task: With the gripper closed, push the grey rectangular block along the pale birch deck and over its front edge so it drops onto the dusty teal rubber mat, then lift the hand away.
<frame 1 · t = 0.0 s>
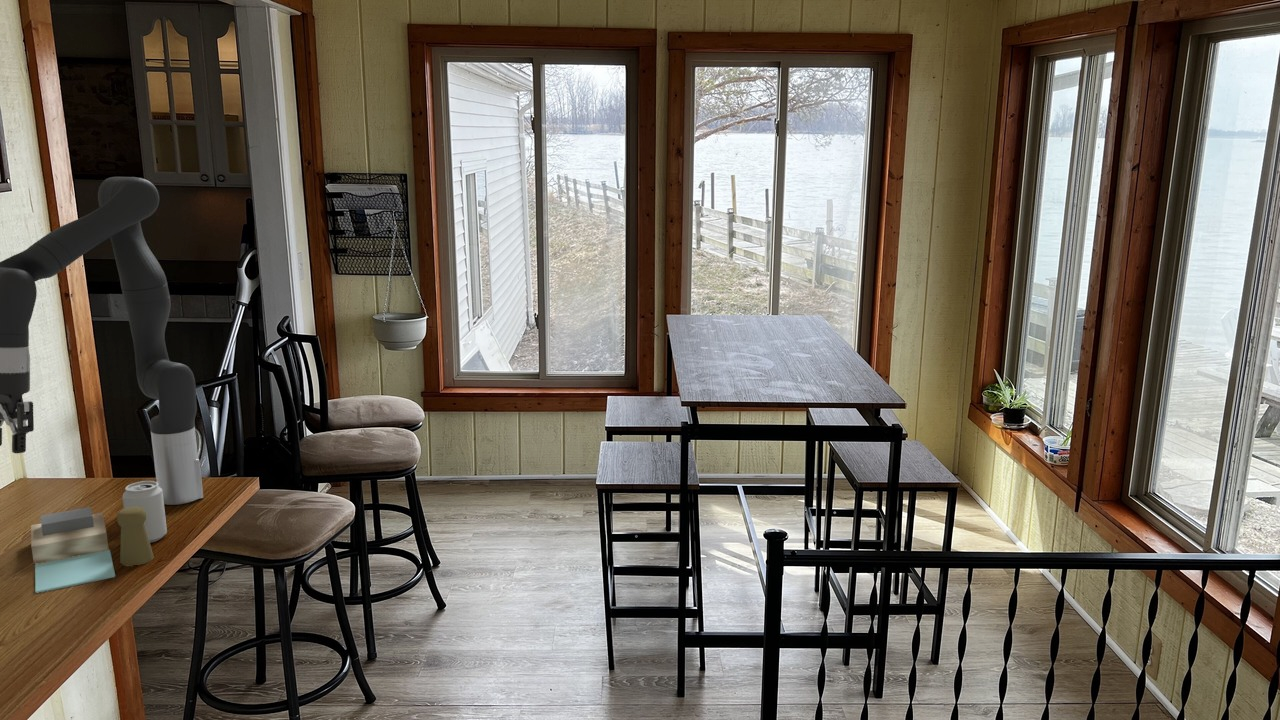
hand: (6, 449, 185), 22 cm above the bar counter, tool pointing down, fingers open, 8 cm apart
grey rectangular block: (67, 521, 194), point 5 cm above the bar counter, touching deck
cork: (137, 560, 188), on the bar counter
can: (148, 539, 198), on the bar counter
deck: (70, 546, 194), on the bar counter
mat: (74, 571, 182), on the bar counter
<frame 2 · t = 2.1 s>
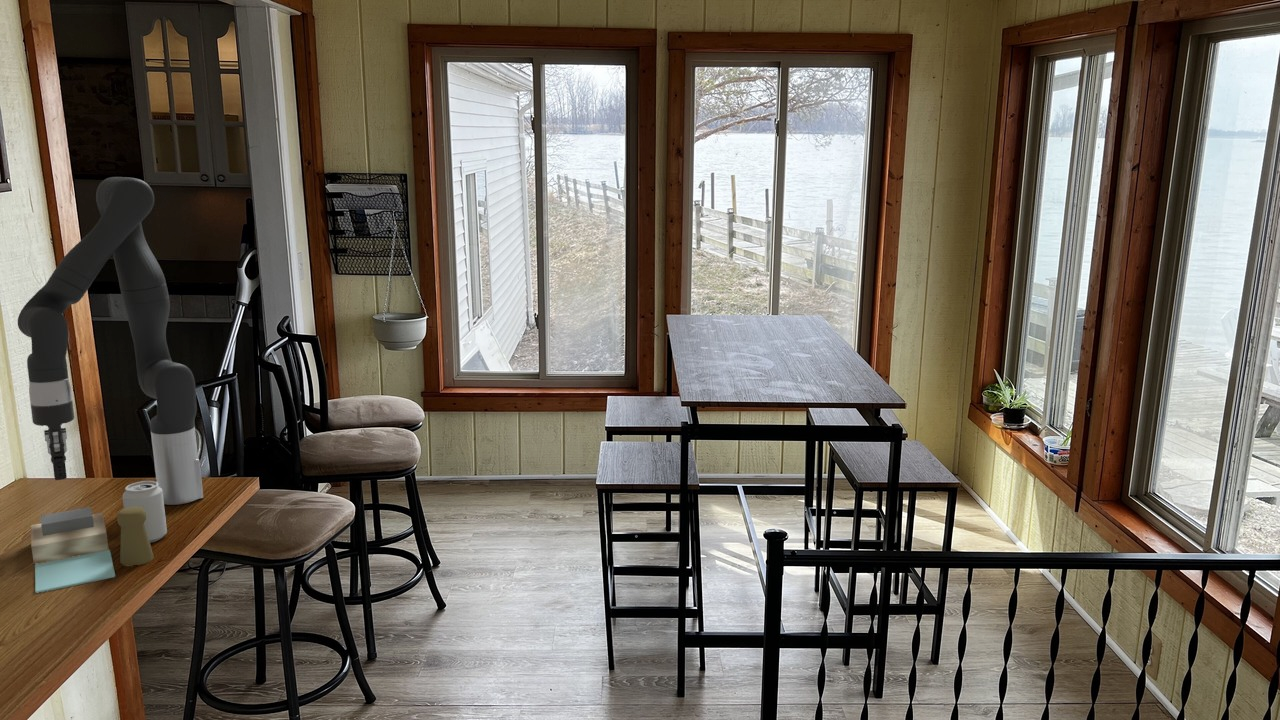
hand: (60, 478, 199), 12 cm above the bar counter, tool pointing down, fingers closed
nothing on the bar counter moved.
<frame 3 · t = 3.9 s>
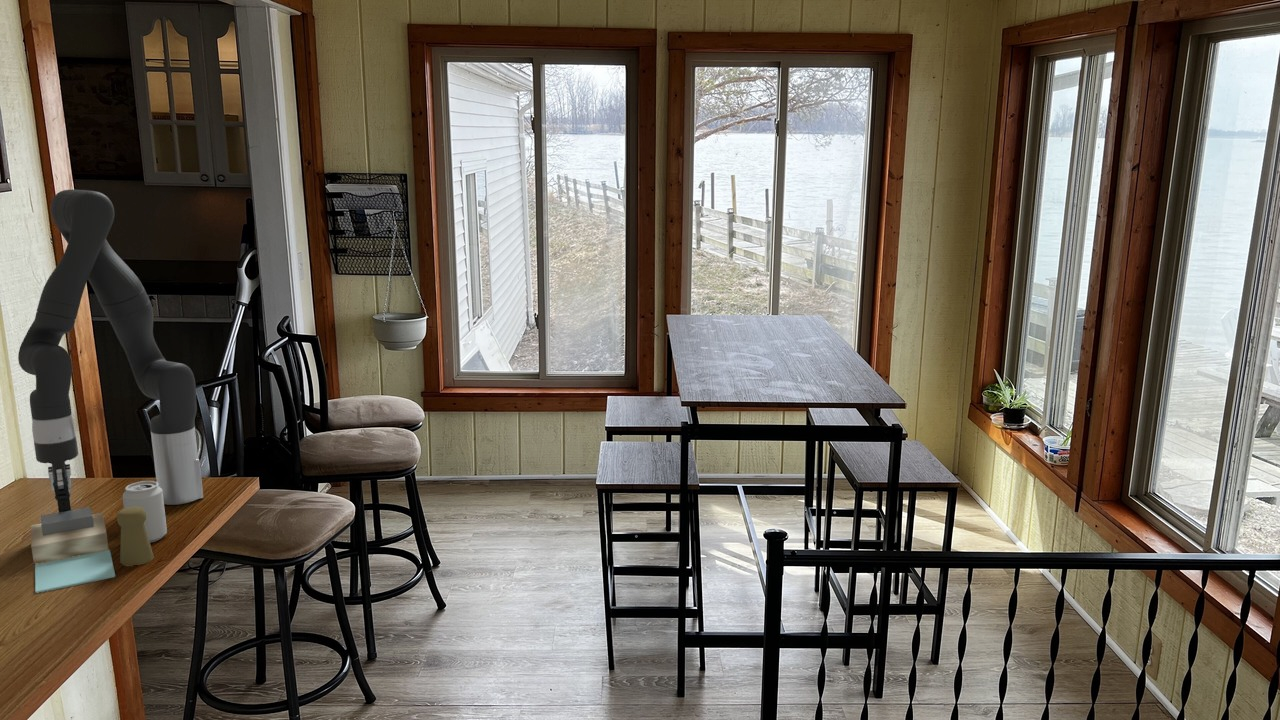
hand: (65, 514, 197), 5 cm above the bar counter, tool pointing down, fingers closed
grey rectangular block: (67, 521, 194), point 5 cm above the bar counter, touching gripper
everything else where it was.
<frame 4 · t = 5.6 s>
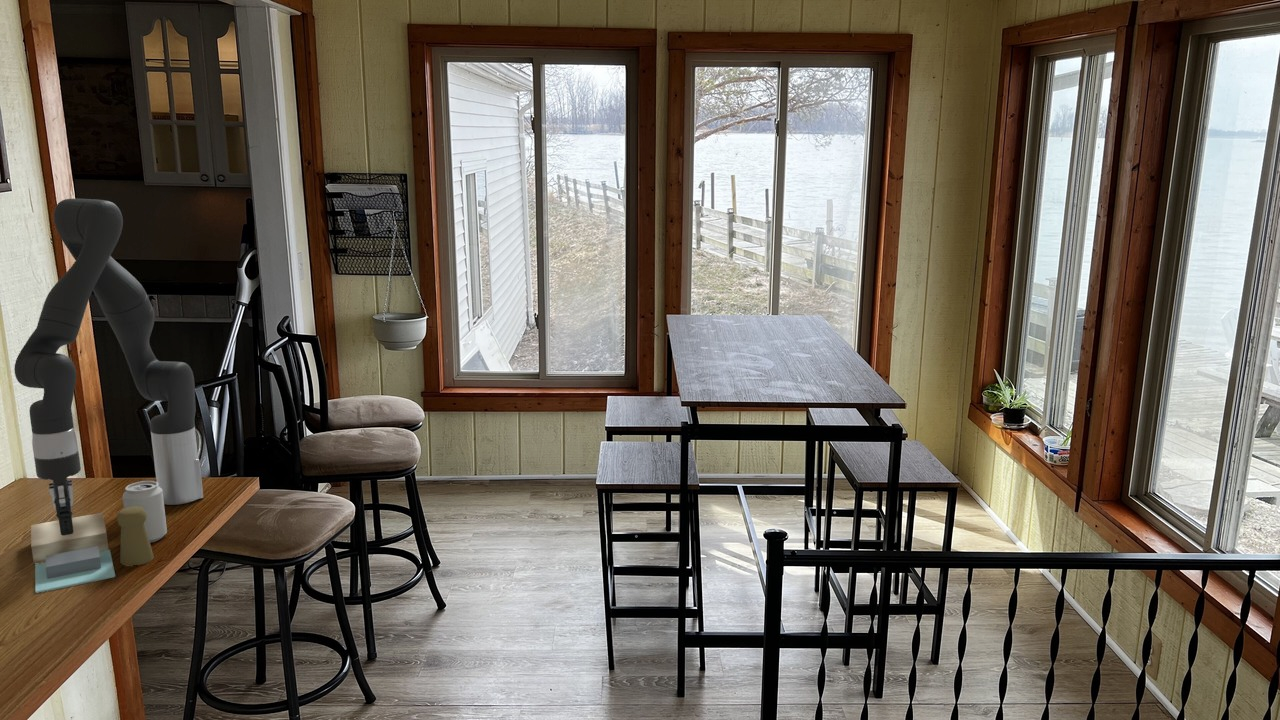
hand: (67, 533, 188), 5 cm above the bar counter, tool pointing down, fingers closed
grey rectangular block: (73, 562, 183), point 2 cm above the bar counter, tilted 180°, touching mat
everything else where it was.
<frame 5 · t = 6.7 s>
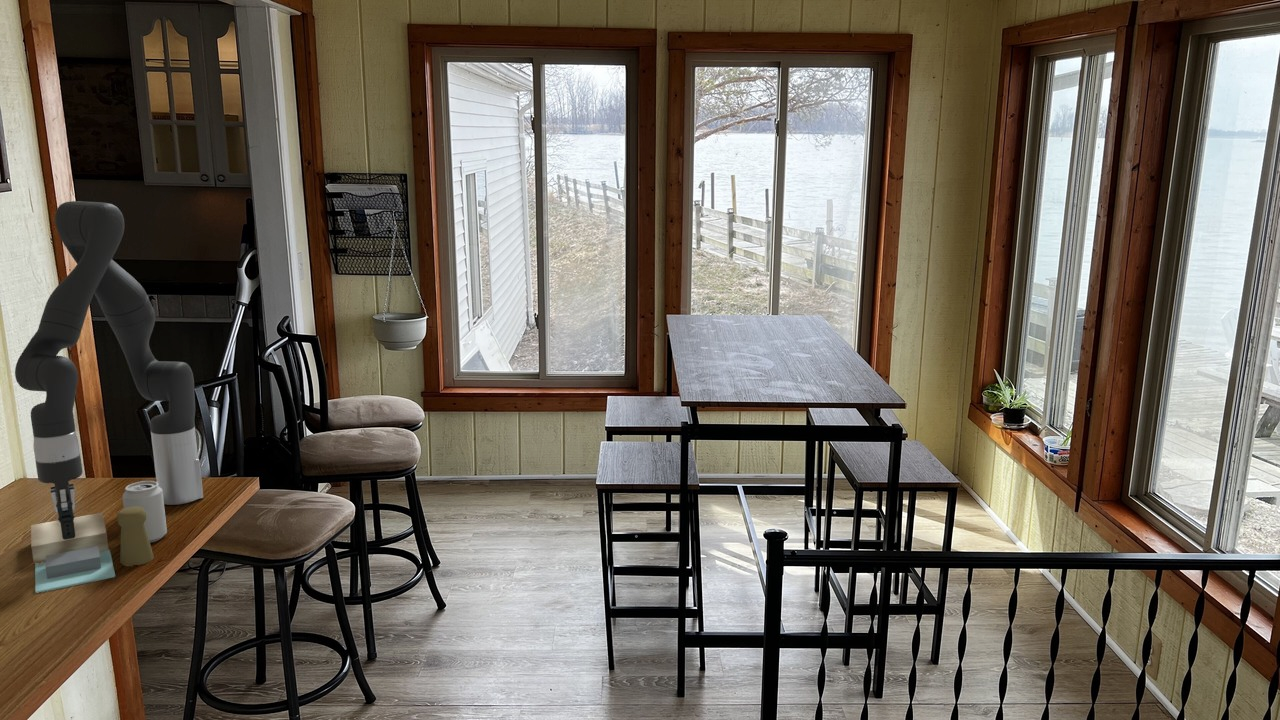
hand: (69, 537, 186), 5 cm above the bar counter, tool pointing down, fingers closed
nothing on the bar counter moved.
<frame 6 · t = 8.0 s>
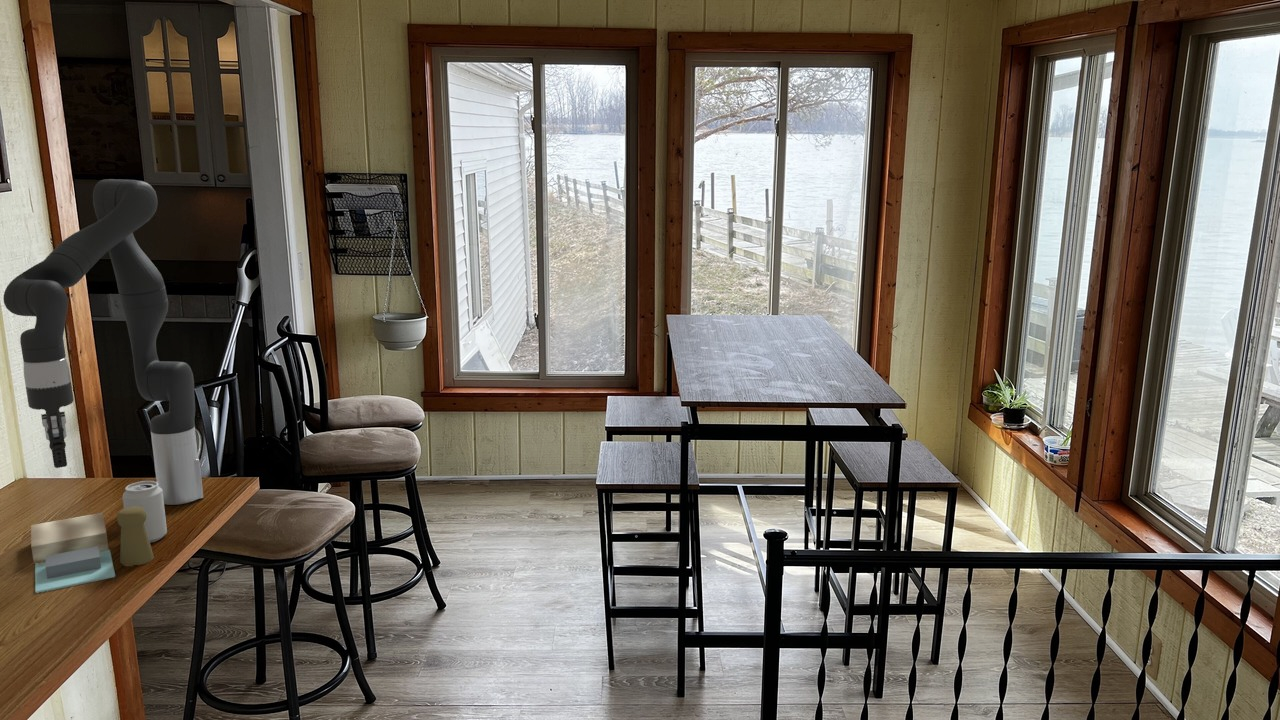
hand: (60, 466, 184), 19 cm above the bar counter, tool pointing down, fingers closed
nothing on the bar counter moved.
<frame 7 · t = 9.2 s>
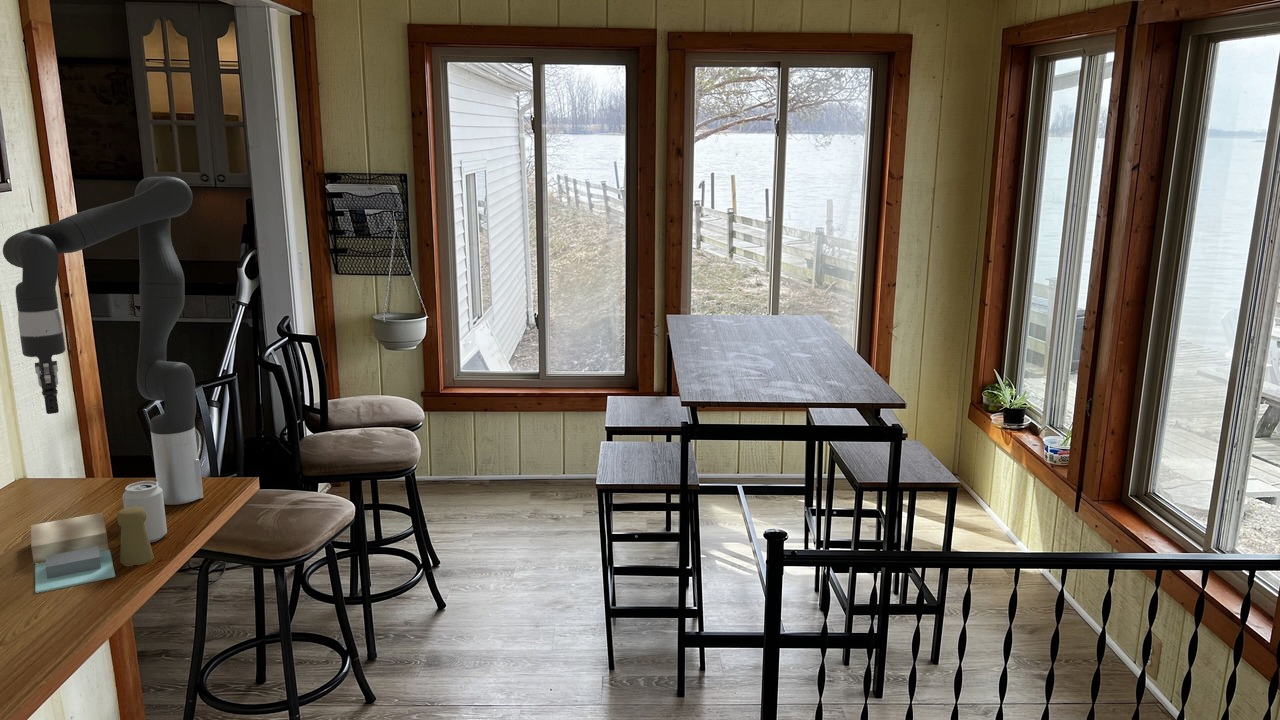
hand: (52, 412, 195), 27 cm above the bar counter, tool pointing down, fingers closed
nothing on the bar counter moved.
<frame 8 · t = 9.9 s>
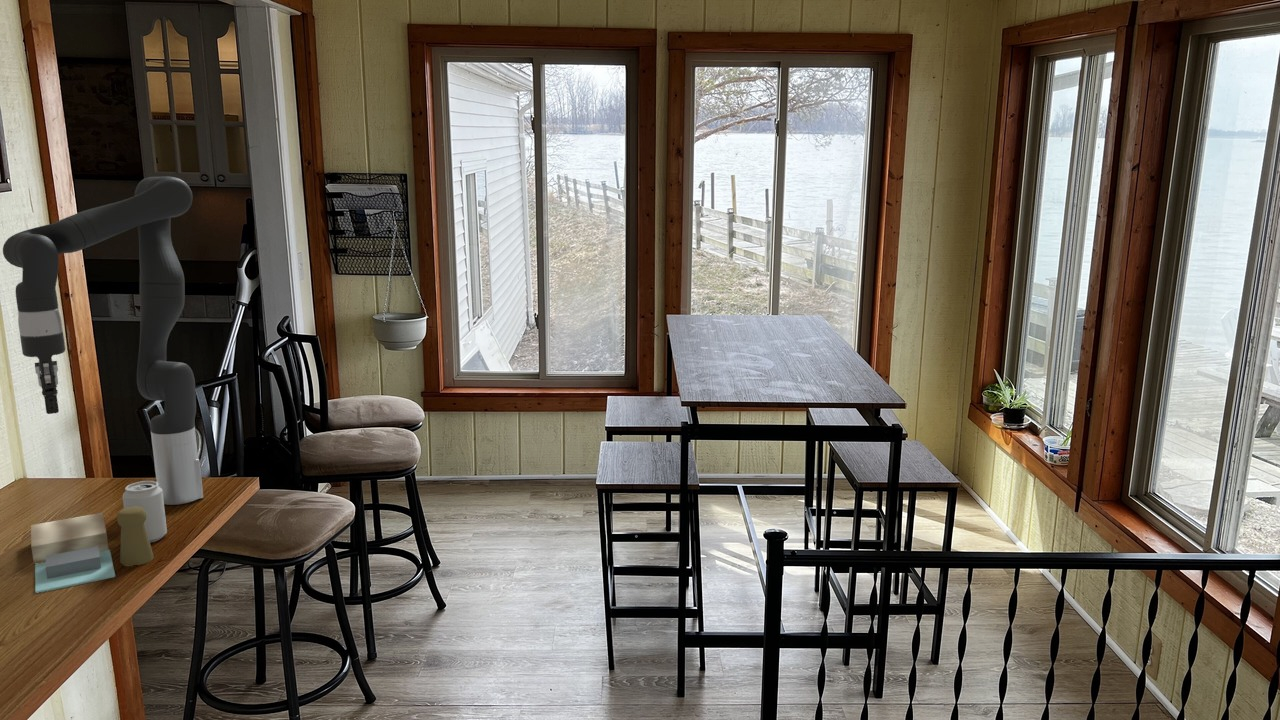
hand: (52, 412, 195), 27 cm above the bar counter, tool pointing down, fingers closed
nothing on the bar counter moved.
at the end: grey rectangular block point 1.6 cm above the bar counter; grey rectangular block inside the target area (1.5 cm from its centre), point 1.6 cm above the bar counter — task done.
